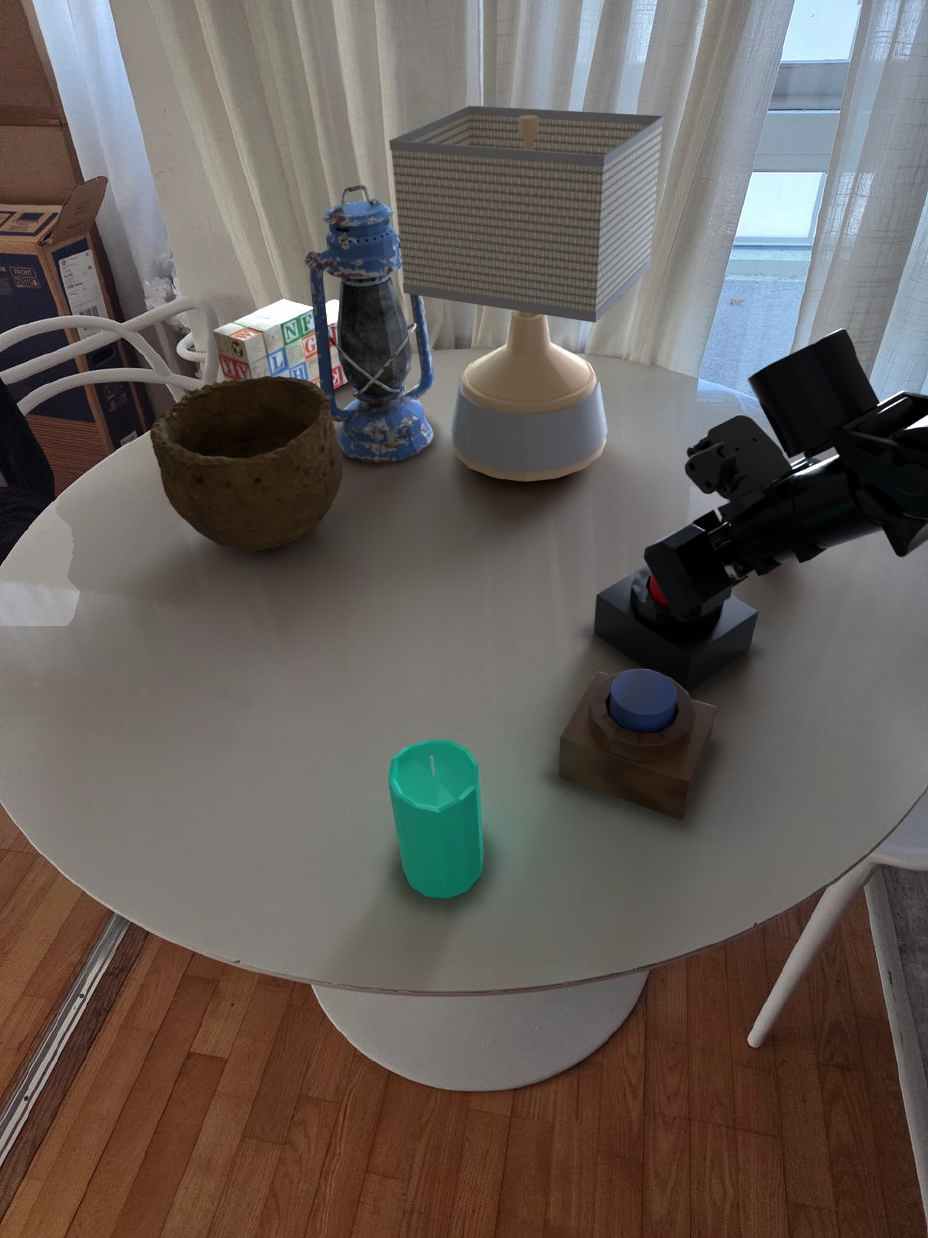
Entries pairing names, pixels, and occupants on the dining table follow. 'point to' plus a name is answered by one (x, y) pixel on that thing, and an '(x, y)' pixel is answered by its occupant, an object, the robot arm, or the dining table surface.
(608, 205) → the desk lamp
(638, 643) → the switch box
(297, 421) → the bowl
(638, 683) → the blue button
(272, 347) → the stack of blocks
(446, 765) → the candle
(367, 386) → the lantern
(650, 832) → the dining table surface
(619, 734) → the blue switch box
